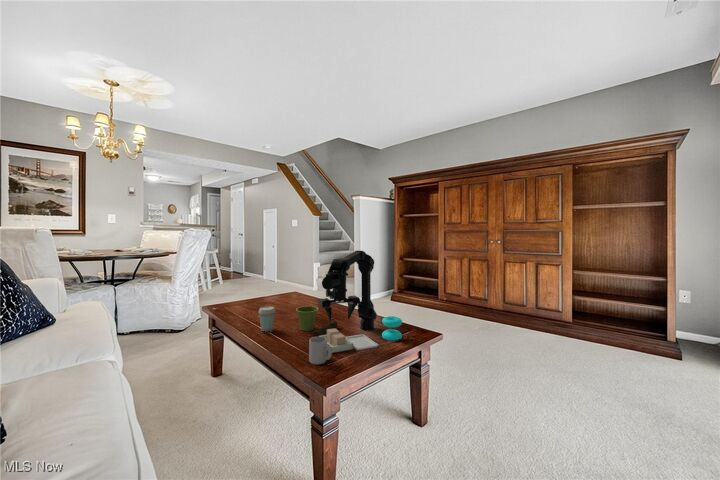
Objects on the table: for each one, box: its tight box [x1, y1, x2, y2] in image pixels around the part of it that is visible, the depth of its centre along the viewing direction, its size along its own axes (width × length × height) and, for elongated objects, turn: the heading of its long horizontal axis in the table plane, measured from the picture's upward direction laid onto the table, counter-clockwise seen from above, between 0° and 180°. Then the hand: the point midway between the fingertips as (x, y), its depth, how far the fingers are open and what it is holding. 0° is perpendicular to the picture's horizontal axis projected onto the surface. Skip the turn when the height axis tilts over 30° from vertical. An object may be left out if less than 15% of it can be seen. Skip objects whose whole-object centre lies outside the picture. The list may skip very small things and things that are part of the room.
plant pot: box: [295, 305, 319, 332], centre depth 165 cm, size 12×12×11 cm
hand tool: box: [311, 320, 338, 338], centre depth 160 cm, size 19×4×5 cm, turn 146°
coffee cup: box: [258, 306, 276, 333], centre depth 162 cm, size 9×8×12 cm
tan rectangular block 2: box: [332, 333, 347, 346], centre depth 138 cm, size 4×4×6 cm
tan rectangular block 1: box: [326, 328, 340, 344], centre depth 146 cm, size 4×4×6 cm
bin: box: [319, 332, 354, 354], centre depth 142 cm, size 11×16×3 cm
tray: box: [346, 333, 380, 351], centre depth 146 cm, size 11×16×1 cm
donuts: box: [381, 315, 403, 341], centre depth 153 cm, size 10×10×10 cm
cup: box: [308, 336, 333, 365], centre depth 125 cm, size 7×10×9 cm
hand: (339, 319), depth 141 cm, fingers open, 9 cm apart
